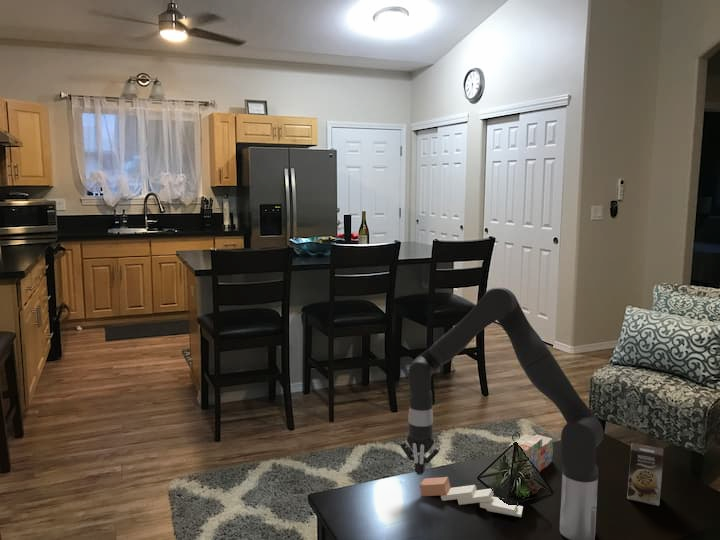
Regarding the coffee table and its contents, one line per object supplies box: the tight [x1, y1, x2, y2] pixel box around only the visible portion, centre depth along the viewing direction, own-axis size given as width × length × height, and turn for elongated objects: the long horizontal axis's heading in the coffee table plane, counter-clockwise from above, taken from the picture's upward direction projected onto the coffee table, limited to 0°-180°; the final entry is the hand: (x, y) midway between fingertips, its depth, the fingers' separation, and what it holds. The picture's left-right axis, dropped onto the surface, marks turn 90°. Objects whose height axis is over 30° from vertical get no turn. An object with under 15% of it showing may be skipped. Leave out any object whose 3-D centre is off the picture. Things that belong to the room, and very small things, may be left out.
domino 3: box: [456, 488, 495, 506], centre depth 176 cm, size 2×5×10 cm
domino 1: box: [419, 476, 452, 497], centre depth 182 cm, size 4×5×8 cm
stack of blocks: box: [508, 433, 554, 473], centre depth 197 cm, size 21×6×12 cm, turn 139°
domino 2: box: [440, 484, 477, 502], centre depth 179 cm, size 2×5×10 cm
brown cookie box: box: [626, 442, 665, 507], centre depth 180 cm, size 9×6×16 cm
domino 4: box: [479, 495, 518, 516], centre depth 173 cm, size 2×5×10 cm
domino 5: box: [486, 505, 524, 518], centre depth 174 cm, size 2×5×10 cm
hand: (419, 473), depth 183 cm, fingers closed
